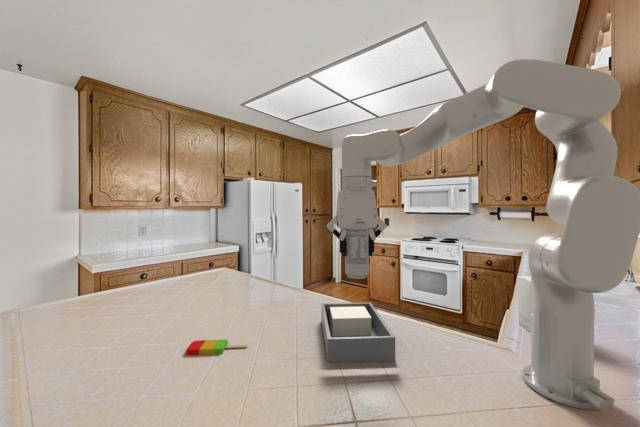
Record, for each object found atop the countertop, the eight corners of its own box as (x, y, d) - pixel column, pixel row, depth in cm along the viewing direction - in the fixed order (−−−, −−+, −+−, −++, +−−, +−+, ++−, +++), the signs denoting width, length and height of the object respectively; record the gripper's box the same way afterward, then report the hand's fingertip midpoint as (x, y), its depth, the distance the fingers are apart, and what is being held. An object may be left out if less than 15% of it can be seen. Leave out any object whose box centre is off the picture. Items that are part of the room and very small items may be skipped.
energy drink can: (370, 274, 71) (370, 217, 71) (366, 280, 66) (366, 218, 65) (348, 273, 73) (348, 217, 73) (342, 278, 68) (342, 218, 67)
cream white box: (371, 335, 76) (371, 317, 76) (332, 336, 76) (332, 318, 76) (364, 322, 85) (364, 306, 85) (329, 323, 85) (329, 307, 85)
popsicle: (192, 346, 73) (192, 340, 73) (249, 344, 75) (249, 337, 75) (184, 357, 68) (184, 350, 68) (245, 355, 69) (245, 347, 69)
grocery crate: (395, 364, 64) (395, 337, 64) (327, 367, 63) (327, 339, 63) (370, 322, 88) (370, 302, 88) (321, 323, 87) (321, 303, 87)
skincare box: (557, 336, 78) (557, 282, 77) (530, 334, 79) (531, 281, 79) (539, 324, 86) (540, 275, 86) (516, 322, 87) (516, 274, 87)
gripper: (385, 186, 73) (385, 252, 74) (321, 186, 72) (322, 253, 73) (394, 183, 66) (394, 257, 66) (323, 183, 65) (324, 258, 65)
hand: (356, 254), depth 69 cm, fingers closed on energy drink can, 6 cm apart
